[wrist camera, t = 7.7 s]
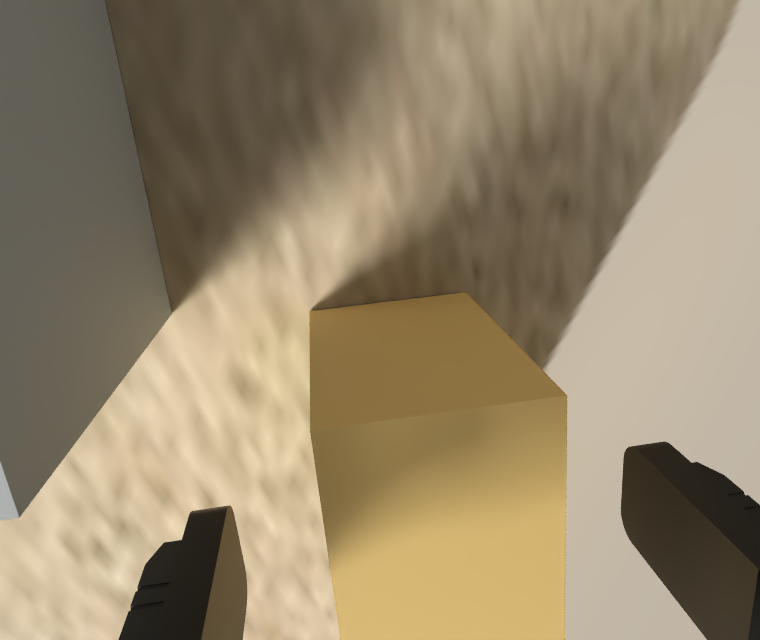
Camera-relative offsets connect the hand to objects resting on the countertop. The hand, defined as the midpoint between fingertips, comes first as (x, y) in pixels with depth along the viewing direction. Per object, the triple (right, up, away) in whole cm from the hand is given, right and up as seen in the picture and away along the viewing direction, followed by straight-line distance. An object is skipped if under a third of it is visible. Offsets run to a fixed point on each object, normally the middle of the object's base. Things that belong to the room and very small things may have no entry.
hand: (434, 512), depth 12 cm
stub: (-1, +2, +6) cm, 6 cm away
